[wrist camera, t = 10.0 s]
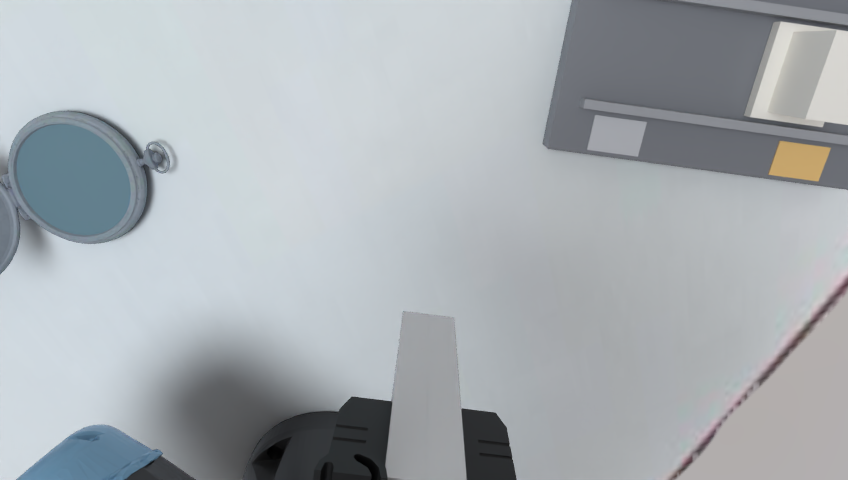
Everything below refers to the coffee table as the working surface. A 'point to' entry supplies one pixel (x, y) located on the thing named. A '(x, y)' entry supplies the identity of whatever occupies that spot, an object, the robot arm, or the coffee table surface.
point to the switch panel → (687, 88)
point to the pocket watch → (72, 181)
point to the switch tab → (802, 76)
